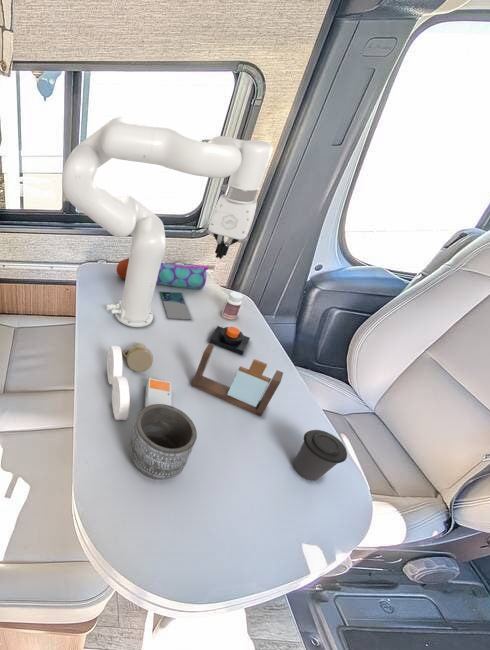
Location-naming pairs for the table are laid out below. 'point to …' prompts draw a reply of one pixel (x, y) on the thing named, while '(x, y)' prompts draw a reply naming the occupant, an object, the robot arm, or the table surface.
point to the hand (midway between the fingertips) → (219, 256)
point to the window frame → (222, 390)
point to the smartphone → (175, 305)
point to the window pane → (250, 383)
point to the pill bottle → (232, 305)
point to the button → (232, 332)
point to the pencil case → (182, 275)
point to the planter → (162, 441)
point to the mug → (139, 357)
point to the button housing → (229, 341)
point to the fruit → (122, 268)
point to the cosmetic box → (158, 392)
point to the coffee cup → (318, 454)
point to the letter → (118, 384)
